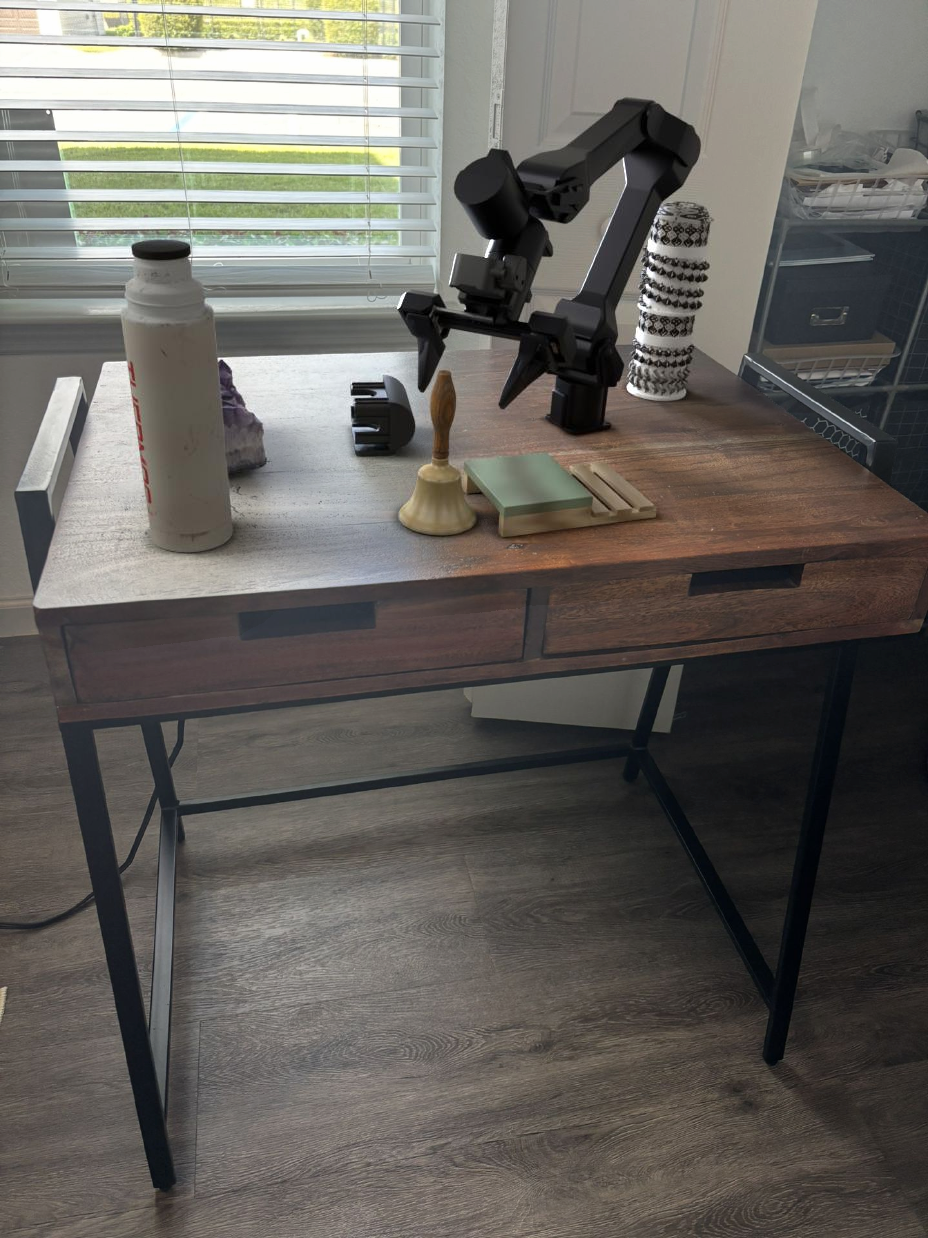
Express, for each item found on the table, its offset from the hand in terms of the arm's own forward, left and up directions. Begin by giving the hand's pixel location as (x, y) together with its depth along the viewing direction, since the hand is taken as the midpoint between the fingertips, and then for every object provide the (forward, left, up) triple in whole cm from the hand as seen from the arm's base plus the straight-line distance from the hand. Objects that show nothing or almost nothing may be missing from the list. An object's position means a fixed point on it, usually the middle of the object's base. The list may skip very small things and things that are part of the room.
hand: (460, 398), depth 103 cm
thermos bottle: (+28, -5, -12) cm, 31 cm away
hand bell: (+4, +3, -12) cm, 13 cm away
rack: (-11, +5, -12) cm, 17 cm away
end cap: (0, -19, -12) cm, 22 cm away
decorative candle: (-44, -20, -12) cm, 50 cm away
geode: (+20, -24, -12) cm, 33 cm away
